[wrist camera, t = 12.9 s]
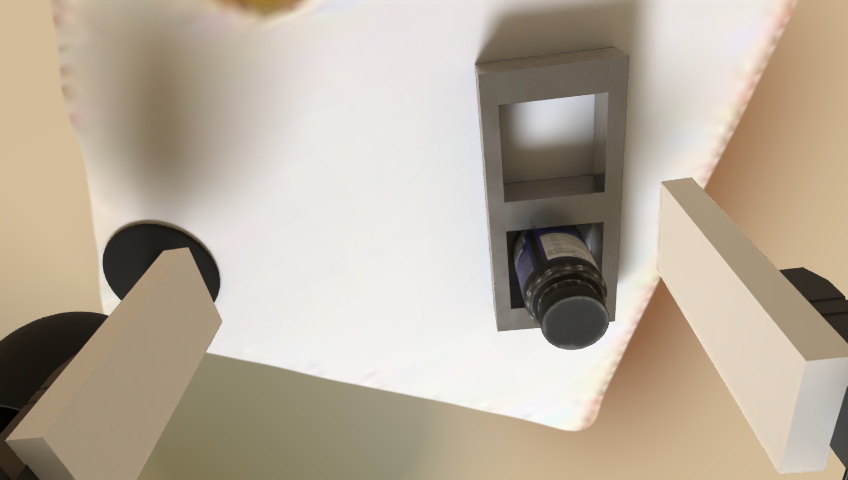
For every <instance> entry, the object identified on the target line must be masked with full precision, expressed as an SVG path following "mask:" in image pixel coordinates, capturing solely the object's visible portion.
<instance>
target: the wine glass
mask: <svg viewBox="0 0 848 480" xmlns="http://www.w3.org/2000/svg"><path fill="white" fill-rule="evenodd" d="M187 247H188V248H189V250H190V252H191V254H192V256H193V259H194V261H195V263H196V265H197V267H198V269H199V272H200V274H201V276H202V278H203V280H204V283H205V285H206V287H207V289H208V291H209V293H210V296H211V298H212V300H213V302H215V300H216V298H217V296H218V293H219V288H220V279H219V274H218V270H217V268H216V265H215V263H214V261H213V260H212V258H211V256H210V255H209V254H208V252H207V251H206V250H205V249H204V248H203V247H202V246H201V245H200V244H199V243H198V242H196V241H195V240H194V239H192V238H191V237H189V236H188V235H186V234H184V233H182V232H180V231H178V230H176V229H173V228H170V227H166V226H162V225H156V224H141V225H135V226H131V227H128V228H126V229H124V230H122V231H120V232H119V233H118V234H116V235H115V236H114V237H113V238H112V239H111V240H110V241H109V243H108V245H107V246H106V248H105V251H104V254H103V271H104V274H105V277H106V280H107V282H108V284H109V286H110V287H111V289H112V290H113V292H114V293H115V294H116V295H117V296H118V298H119V299H120V300H121V301H122V300H123V299H124V298H125V296H126V295H127V294H128V293H129V292H130V290H131V289H132V288H133V287H134V286H135V284H136V283H137V282H138V281H139V280H140V278H141V277H142V276H143V275H144V274H145V272H146V271H147V270H148V269H149V268H150V266H151V265H152V264H153V263H154V262H155V260H156V259H157V258H158V257H159V256H160V254H161V253H162V252H163V251H166V250H173V249H180V248H187ZM108 317H109V316H108V315H104V314H100V313H93V312H66V313H59V314H55V315H51V316H47V317H43V318H41V319H38V320H35V321H33V322H31V323H29V324H27V325H25V326H23V327H21V328H19V329H17V330H15V331H14V332H12V333H11V334H9V335H8V336H6V337H5V338H4V339H3V340H1V341H0V434H1V433H2V431H3V430H4V429H5V428H6V427H7V426H8V424H9V423H10V422H11V421H12V420H13V419H14V417H15V416H16V415H17V414H18V413H19V412H20V410H21V409H22V408H23V407H24V406H25V405H28V401H29V400H30V399H31V398H32V396H33V395H34V394H35V393H36V392H37V391H40V387H41V386H42V385H43V384H44V382H45V381H46V380H47V379H48V378H49V376H50V375H51V374H52V373H53V372H54V371H55V370H56V369H57V368H58V367H60V366H61V365H62V364H64V363H65V362H66V361H67V360H69V359H70V358H71V357H73V356H74V355H75V354H78V353H79V351H80V350H81V349H82V348H83V347H84V345H85V344H86V343H87V342H88V341H89V339H90V338H91V337H92V336H93V335H94V333H95V332H96V331H97V330H98V329H99V327H100V326H101V325H102V324H103V323H104V322H105V320H106V319H107V318H108Z"/></svg>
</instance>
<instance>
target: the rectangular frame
mask: <svg viewBox="0 0 848 480" xmlns="http://www.w3.org/2000/svg"><path fill="white" fill-rule="evenodd" d="M628 62H629V56H628V55H626V54H625V53H623V52H621V51H620V50H618V49H617V48H615V47H609V48H601V49H593V50H584V51H576V52H568V53H560V54H552V55H544V56H536V57H528V58H520V59H512V60H504V61H496V62H488V63H480V64H475V73H476V86H477V98H478V111H479V124H480V137H481V149H482V162H483V175H484V187H485V200H486V213H487V226H488V238H489V251H490V264H491V277H492V289H493V302H494V311H495V318H496V324H497V330H498V331H508V330H519V329H531V328H541V327H540V326H539V325H538V324H537V323H535V322H534V321H533V320H532V318H531V317H530V316H529V314H528V312H527V310H526V308H525V304H524V300H523V296H522V292H521V288H520V285H513V286H509V271H508V254H507V238H506V231H516V230H526V229H536V228H546V227H556V226H566V225H576V224H586V223H592V238H591V255H592V257H593V259H594V261H595V263H596V265H597V267H598V269H599V271H600V273H601V275H602V277H603V279H604V281H605V283H606V287H607V300H606V304H605V306H606V308H607V311H608V313H609V322H612V321H615V310H616V291H617V272H618V253H619V234H620V215H621V196H622V177H623V158H624V139H625V120H626V100H627V81H628ZM589 94H595V117H594V157H593V175H584V176H574V177H565V178H556V179H546V180H537V181H528V182H518V183H509V184H503V172H502V155H501V139H500V122H499V106H498V105H505V104H513V103H522V102H530V101H538V100H547V99H555V98H564V97H572V96H581V95H589Z"/></svg>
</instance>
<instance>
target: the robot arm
mask: <svg viewBox="0 0 848 480" xmlns="http://www.w3.org/2000/svg"><path fill="white" fill-rule="evenodd" d="M657 271H658V272H659V274H660V276H661V277H662V279H663V281H664V282H665V284H666V286H667V287H668V289H669V291H670V292H671V294H672V296H673V297H674V299H675V300H676V302H677V304H678V306H679V307H680V309H681V311H682V312H683V314H684V316H685V317H686V319H687V321H688V322H689V324H690V326H691V327H692V329H693V331H694V332H695V334H696V336H697V337H698V339H699V341H700V342H701V344H702V346H703V348H704V349H705V351H706V352H707V354H708V356H709V357H710V359H711V361H712V363H713V364H714V366H715V368H716V369H717V371H718V373H719V374H720V376H721V377H722V379H723V381H724V383H725V384H726V386H727V387H728V389H729V391H730V393H731V394H732V396H733V398H734V399H735V401H736V403H737V404H738V406H739V408H740V409H741V411H742V413H743V414H744V416H745V418H746V419H747V421H748V423H749V424H750V426H751V428H752V429H753V431H754V433H755V434H756V436H757V438H758V439H759V441H760V443H761V445H762V446H763V448H764V450H765V451H766V453H767V454H768V456H769V458H770V460H771V461H772V463H773V465H774V466H775V468H776V470H777V471H778V473H779V474H783V473H797V472H810V471H822V470H825V466H826V463H827V460H828V457H829V454H830V450H831V448H832V450H833V451H834V452H835V454H836V455H837V457H838V458H839V459H840V461H841V462H842V463H843V465H844V466H845V468H846V470H845V473H844V476H843V479H842V480H848V300H846V299H845V296H844V295H843V294H842V293H841V292H840V291H839V290H838V289H837V288H836V287H834V286H833V284H831V283H830V282H829V281H828V280H827V279H825V278H822V277H821V276H819V275H817V274H815V273H813V272H811V271H809V270H807V269H805V268H803V267H802V268H793V269H784V270H778V269H777V268H776V267H775V266H774V265H773V264H772V263H771V262H770V260H769V259H768V258H767V257H766V256H765V255H764V254H763V253H762V252H761V251H760V250H759V249H758V248H757V247H756V245H755V244H753V242H752V241H751V240H750V239H749V238H748V237H747V236H746V235H745V234H744V233H743V232H742V231H741V229H740V228H738V226H737V225H736V224H735V223H734V222H733V221H732V220H731V219H730V218H729V217H728V216H727V215H726V214H725V212H724V211H723V210H722V209H721V208H720V207H719V206H718V205H717V204H716V203H715V202H714V201H713V200H712V199H711V198H710V197H709V195H708V194H707V193H706V192H705V191H704V190H703V189H702V188H701V187H700V186H699V185H698V184H697V183H696V182H695V181H694V179H693V178H692V177H691V178H684V179H677V180H670V181H663V182H661V191H660V211H659V231H658V251H657ZM221 323H222V320H221V317H220V315H219V313H218V311H217V309H216V306H215V304H214V302H213V300H212V298H211V296H210V293H209V291H208V289H207V287H206V285H205V283H204V280H203V278H202V276H201V274H200V272H199V269H198V267H197V265H196V263H195V261H194V259H193V256H192V254H191V252H190V250H189V248H188V247H187V248H180V249H173V250H166V251H163V252H162V253H161V254H160V256H159V257H158V258H157V259H156V260H155V262H154V263H153V264H152V265H151V266H150V268H149V269H148V270H147V271H146V272H145V274H144V275H143V276H142V277H141V278H140V280H139V281H138V282H137V283H136V284H135V286H134V287H133V288H132V289H131V290H130V292H129V293H128V294H127V295H126V296H125V298H124V299H123V300H122V301H121V302H120V304H119V305H118V306H117V307H116V308H115V310H114V311H113V312H112V313H111V314H110V316H109V317H108V318H107V319H106V320H105V322H104V323H103V324H102V325H101V326H100V327H99V329H98V330H97V331H96V332H95V333H94V335H93V336H92V337H91V338H90V339H89V341H88V342H87V343H86V344H85V345H84V347H83V348H82V349H81V350H80V351H79V353H78V354H75V355H74V356H73V357H71V358H70V359H69V360H67V361H66V362H65V363H64V364H62V365H61V366H60V367H58V368H57V369H56V370H55V371H54V372H53V373H52V374H51V375H50V376H49V378H48V379H47V380H46V381H45V382H44V384H43V385H42V386H41V387H40V391H37V392H36V393H35V394H34V395H33V396H32V398H31V399H30V400H29V401H28V405H25V406H24V407H23V408H22V409H21V410H20V412H19V413H18V414H17V415H16V416H15V417H14V419H13V420H12V421H11V422H10V423H9V424H8V426H7V427H6V428H5V429H4V430H3V431H2V433H1V434H0V480H136V479H137V478H138V476H139V474H140V472H141V470H142V468H143V466H144V465H145V463H146V461H147V459H148V457H149V455H150V454H151V452H152V450H153V448H154V446H155V445H156V443H157V441H158V439H159V437H160V435H161V434H162V432H163V430H164V428H165V426H166V424H167V423H168V421H169V419H170V417H171V415H172V413H173V412H174V410H175V408H176V406H177V404H178V402H179V400H180V399H181V397H182V395H183V393H184V391H185V390H186V388H187V386H188V384H189V382H190V380H191V378H192V377H193V375H194V373H195V371H196V369H197V367H198V365H199V364H200V362H201V360H202V358H203V356H204V355H205V353H206V351H207V349H208V347H209V345H210V344H211V342H212V340H213V338H214V336H215V334H216V333H217V331H218V329H219V327H220V325H221Z"/></svg>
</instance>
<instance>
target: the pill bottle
mask: <svg viewBox="0 0 848 480" xmlns="http://www.w3.org/2000/svg"><path fill="white" fill-rule="evenodd" d="M512 255H513V261H514V264H515V268H516V272H517V276H518V280H519V284H520V288H521V292H522V296H523V300H524V304H525V308H526V310H527V312H528V314H529V316H530V317H531V318H532V320H533V321H534V322H535V323H537V324H538V325H539V326H540V327H541V330H542V333H543V335H544V337H545V338H546V340H548V342H549V343H551V344H552V345H554V346H556V347H558V348H562V349H566V350H576V349H582V348H585V347H588V346H590V345H592V344H594V343H596V341H598V340H599V339H600V338H601V337H602V336H603V335H604V334H605V332H606V330H607V328H608V325H609V313H608V311H607V308H606V306H605V304H606V300H607V287H606V283H605V281H604V279H603V277H602V275H601V273H600V271H599V269H598V267H597V265H596V263H595V261H594V259H593V257H592V255H591V253H590V251H589V249H588V247H587V245H586V243H585V241H584V239H583V237H582V235H581V233H580V232H579V230H578V229H577V228H576V227H575V226H574V225H566V226H556V227H546V228H536V229H526V230H521V231H520V232H519V233H518V235H517V237H516V238H515V240H514V244H513V249H512Z"/></svg>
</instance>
